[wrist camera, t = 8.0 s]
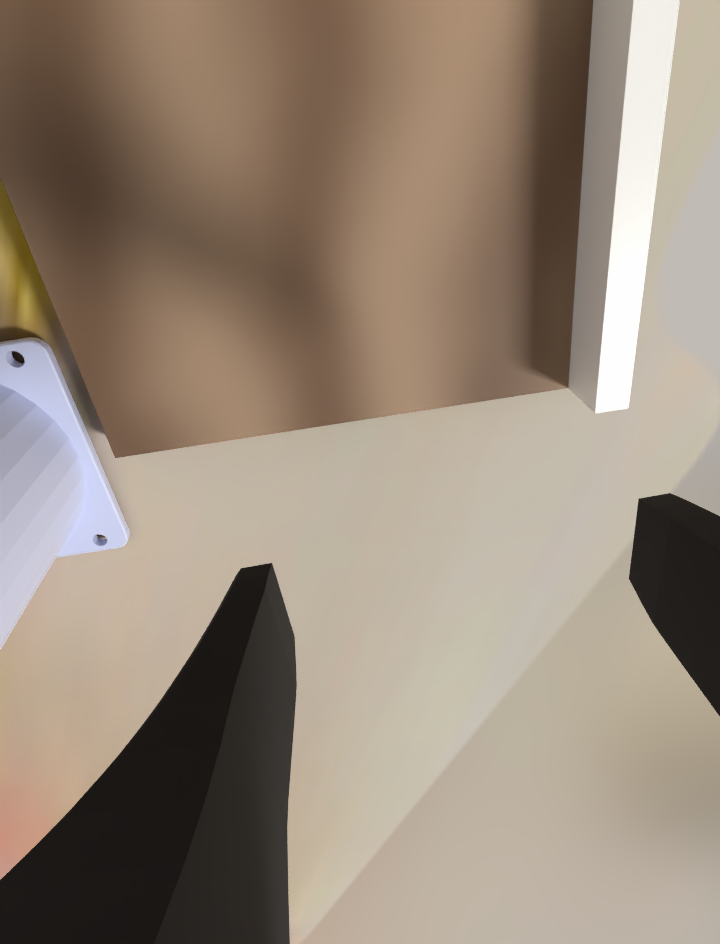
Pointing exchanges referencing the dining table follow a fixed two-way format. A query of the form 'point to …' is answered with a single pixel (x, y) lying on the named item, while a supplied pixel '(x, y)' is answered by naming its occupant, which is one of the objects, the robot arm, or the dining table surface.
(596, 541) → the dining table surface
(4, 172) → the brown tray
